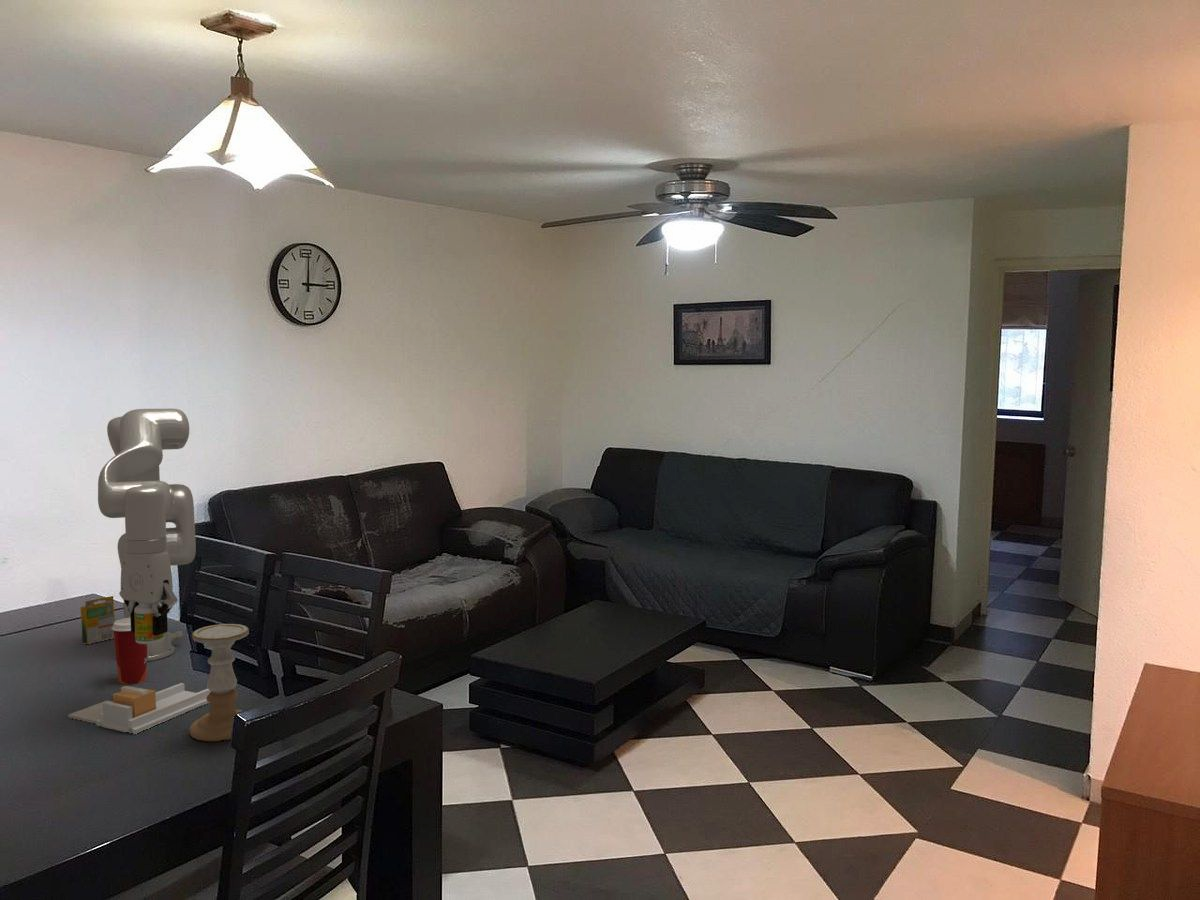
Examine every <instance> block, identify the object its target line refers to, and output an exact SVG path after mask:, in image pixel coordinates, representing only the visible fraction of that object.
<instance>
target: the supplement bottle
mask: <svg viewBox="0 0 1200 900" xmlns="http://www.w3.org/2000/svg"><path fill="white" fill-rule="evenodd" d="M138 603H139V605H137V606H136V607H135V609H134V616H135V641H136V642H137V643H139V644H151V643H156V642H160V641H162V640H163V639H164V633H163V634H160V635H157V636H156V635H153V620H152V618H153V616H155V614H154V610H153V607H152V604H148V603H140V602H138ZM158 604H159V608H160V607H161V606H162V605H161V604H160V603H158Z"/></svg>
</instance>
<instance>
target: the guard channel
mask: <svg viewBox="0 0 1200 900" xmlns="http://www.w3.org/2000/svg"><path fill="white" fill-rule="evenodd" d="M185 688H186V687H185V683H183V682H180V683H178V684H175V685H172V686H169V687H167V688H164V689H162V690H159V691H156V709H155V710H153V711H150V712H147V713H145V714H142V715H140V716H137V717H135V718H132V707H131V706H127V705H122V704H117V703H113V701H111V702H108V701H109V700H106V701H107V702H104V701H103V702H104V703H103V713H101V714H100V720H97V721H96V724H95V725H96V726H97V727H100V726H101V728H105V729H111V730H113V729H114V731H119V732H123V733H126V732H129V733H128V734H131V733H133V734H132V735H135V734H136V735H138V734H137V733H139V732H141V731H143V730H146V729H148V730H150V729H149V728H151V727H153V726H155V725H157V724H160V723H162V722H165V721H167V720H169V719H171V718H173V717H176V716H178V715H180V714H183V713H185V712H187V711H189V710H192V709H194V708H196V707H199V706H201V705H204V704H207V703H209V702H208V701H207V700H206V698H207V696H208V695H209V693H210V692H211V691H210V690H209V689H208V688H206V689H203V690H200V691H198V692H195V691H188V690H185ZM167 722H168V721H167ZM165 723H166V722H165ZM160 725H161V724H160ZM155 727H156V726H155ZM153 728H154V727H153ZM151 729H152V728H151ZM146 731H147V730H146ZM141 733H142V732H141ZM139 734H140V733H139Z"/></svg>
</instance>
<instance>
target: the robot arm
mask: <svg viewBox="0 0 1200 900" xmlns="http://www.w3.org/2000/svg"><path fill="white" fill-rule="evenodd" d="M106 432H107V438H108V441H109V444H110V447H111V449H112V451H113V453H114V456H112V457H111V458H110V459H109V460H108V461H107V463H105V464H104V466H103V467H102V469H101V470H100V472H99V475H98V478H97V505H98V509H99V511H100V513H101V514H102V515H103V516H104V517H106V518H109V519H120V518H124V524H125V527H124V528H125V532H124V533H123V534H122V535H121V536H120V537H119V538H118V542H117V554H118V559H119V564H120V590H119V593H118V594H119V596H120V597H121V599H122V600H123V619H124V618H130V619H131V631H132V632H135V616H134V609H135V607H136V606H137V605H139V603H138V602H140V603H148V604H152V607H153V610H154V614H155V616H153V618H152V620H153V635H156V636H157V635H160V634H163V633H164V639H163V640H162V641H160V642H156V643H151V644H147V662H149V661H150V662H151V661H156V660H160V659H161V660H162V659H163V658H166V657H170V656H171V655H173V654H174V653H175V646H174V645H173V644H172V643H173V642H174V641H176V640H179V639H182V638H183V637H184V633H183V631H182V630H178V631H175V632H173V633H171V631H168V628H169V627H168V614H170V613H171V612H170V611H171V609H172V608H173V607H174V606H175V604H177V603H178V601H179V599H178V598H177V596H176V594H175V593H174V591H173V588H174V587H173V575H172V567H171V566H182V565H188V564H190V563H193V561H194V559H195V557H196V551H197V549H196V548H197V547H196V546H197V545H196V543H197V542H196V525H195V521H196V520H195V506H194V505H195V504H194V497H193V493H192V490H191V489H190V488H189V487H188V486H187V485H185V484H182V483H181V484H180V483H174V484H172V483H171V484H169V483H167V482H165V481H162V480H161V479H160V465H161V463H162V462H163V457H164V455H163V450H167V451H168V450H180V449H182V448H184V447H185V446H186V444H187V442H188V440H189V437H190V423H189V419H188V417H187V415H186V413H185V412H184V411H183V410H181V409H178V408H136V409H132V410H129V411H127V412H125V413H124V414H123V415H121V416H118V417H114V418H112V419H110V420H109V421H108V423H107V426H106ZM167 523H172V524H173V525H175V527H167ZM158 603H160V604H161V605H162V606H161V607H160V608H159V604H158Z"/></svg>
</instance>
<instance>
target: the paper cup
mask: <svg viewBox="0 0 1200 900" xmlns="http://www.w3.org/2000/svg"><path fill="white" fill-rule="evenodd" d="M114 621H115V622H114V624H113V627H112V630H113V632H114V639H113V640H114V650H115V659H116V668H117V669H116V670H117V677H118V682H119V684H120V685H124V686H129V685H135V683H137V684H140V683H142V681H143V682H145V681H146V680H147V672H148V671H147V668H148V667H147V665H148V661H147V644H139V643H137V642H136V641H135V632H132V631H131V619H130V618H124V617H123V618H120V619H117V620H114ZM145 679H146V680H145ZM144 680H145V681H144ZM139 682H140V683H139ZM128 684H129V685H128Z"/></svg>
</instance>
